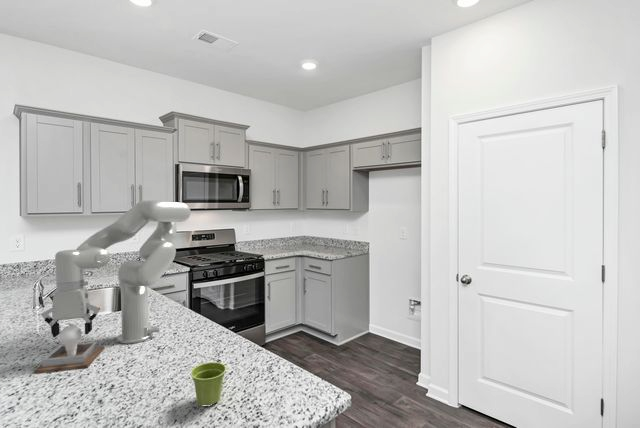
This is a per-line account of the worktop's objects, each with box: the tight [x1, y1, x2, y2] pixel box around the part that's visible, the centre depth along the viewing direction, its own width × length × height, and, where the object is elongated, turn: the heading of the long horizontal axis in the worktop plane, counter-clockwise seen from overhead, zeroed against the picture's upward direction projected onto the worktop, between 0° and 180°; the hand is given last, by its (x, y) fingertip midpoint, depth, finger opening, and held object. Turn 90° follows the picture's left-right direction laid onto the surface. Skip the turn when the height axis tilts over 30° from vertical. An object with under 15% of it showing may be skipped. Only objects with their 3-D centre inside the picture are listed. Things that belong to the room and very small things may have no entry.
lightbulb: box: [59, 325, 82, 356], centre depth 117 cm, size 6×6×11 cm
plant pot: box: [190, 361, 227, 406], centre depth 93 cm, size 9×9×9 cm
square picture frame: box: [41, 341, 99, 368], centre depth 117 cm, size 12×12×2 cm
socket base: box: [33, 345, 105, 374], centre depth 117 cm, size 15×15×1 cm
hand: (72, 334), depth 117 cm, fingers open, 9 cm apart
